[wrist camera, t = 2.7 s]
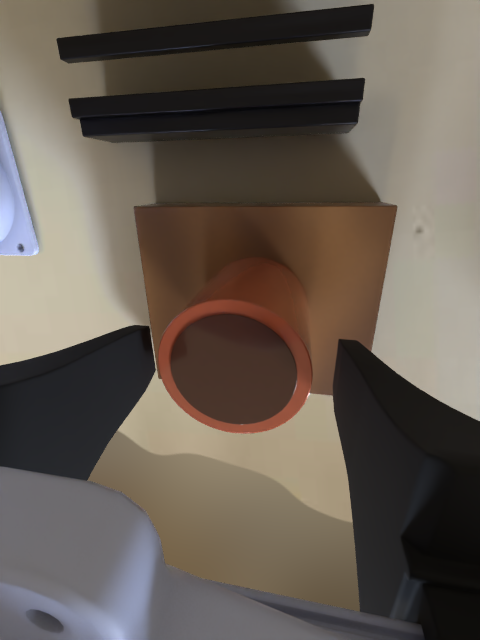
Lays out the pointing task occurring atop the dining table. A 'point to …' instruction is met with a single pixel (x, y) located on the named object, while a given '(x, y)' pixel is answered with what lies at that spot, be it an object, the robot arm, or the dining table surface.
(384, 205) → the brown square slab
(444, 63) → the dining table surface
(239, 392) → the cup
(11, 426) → the robot arm
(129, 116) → the rack
